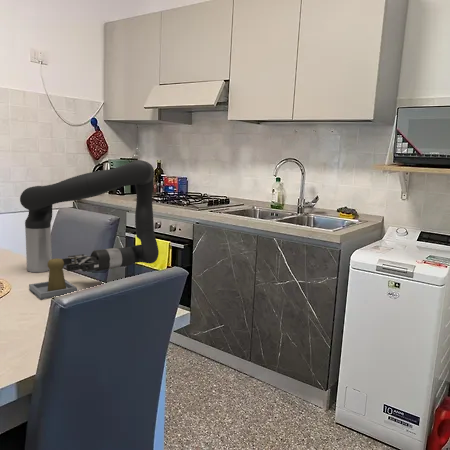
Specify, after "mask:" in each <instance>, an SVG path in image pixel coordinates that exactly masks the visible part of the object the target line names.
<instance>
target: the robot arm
mask: <svg viewBox="0 0 450 450" xmlns="http://www.w3.org/2000/svg"><path fill="white" fill-rule="evenodd" d="M154 181H155V169H154V167H153V165H152V164H151V163H150V162H148V161H145V160H142V159H139V160H134V161H132V162H129V163H126V164H124V165H120V166H118V167H113V168H109V169H102V170H97V171H91V172H86V173H83V174H78V175H75V176H72V177H68V178H66V179H63V180H61V181H59V182H56V183H52V184H46V185H35V186H29V187H27V188H25V189H24V190H23V191H22V192H21V194H20V197H19V202H20V204H21V206H22V207H23V208H25V209H26V210H28V215H27V218H26V219H25V221H24V227H25V228H24V229H25V252H26V254H25V255H26V257H25V258H26V271H27V272H29V273H42V272H43V273H44V272H48V271H50V269H49V268H48V261H49V260H51V259H53V258H52V257H53V256H52V229H51V228H52V225H51V224H52V223H51V222H52V220H53V205H56V204H60V203H65V202H73V201H79V200H85V199H89V198H92V197H93V198H94V197H97V196H101V195H104V194H105V193H108V192H111V191H113V190H115V189H117V188H121V187H127V186H135V193H136V195H135V196H136V202H135V204H136V205H135V213H134V221H135V222H134V223H135V224H134V225H135V236H136V238H137V239H139V240H140V244H136V245H135V244H134V245H132V246H127V247H125V246H124V247H118V248H113V247H112V248H104V249H103V248H102V249H94V250H93V251H92V252H91V253H90V256H89V255H85V254H84V253H81V254H73V255H67V257H66V258H61V259H62V260H63V261H64V266H65V267H66V269H65V271H67V272H73V271H74V272H75V271H82V272H83V273H84V272H90V271H96V272H101V271H106V270H114V269H117V268H121V267H128V266H131V265H133V264H136V263H145V264H155V262H157V261H158V258H159V250H160V249H159V245H158V242H157V239H156V238H157V237H156V236H155V223H154V222H155V221H154V212H153V211H154V209H153V207H154V206H153V191H154V190H153V189H154Z"/></svg>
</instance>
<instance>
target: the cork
mask: <svg viewBox="0 0 450 450" xmlns="http://www.w3.org/2000/svg"><path fill="white" fill-rule="evenodd" d="M62 259H63V258H57V257H55V258H52V259H51V260H49V261H48V268H49V269H50V270H49V272H48V273H49V274H48V281H47V282H48V291H54V290H60V289H66V284H65V280H66V279H65V274H64V266H65V265H64V261H63V260H62ZM48 291H47V292H48Z"/></svg>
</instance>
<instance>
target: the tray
mask: <svg viewBox="0 0 450 450" xmlns="http://www.w3.org/2000/svg"><path fill="white" fill-rule="evenodd" d="M65 284H66V289H60V290H54V291H48V281H43V282H36V283H30V284H28V289H29V291H30V292H31V293H32V294H33V295H35V296H36V297H37V298H38V299H39V300H47V299H48V300H49V299H53V298H52V297H54V296H59V297H61V296H60V295H64V294H67V293H71V292H74V291H77V292H78V287H77V286H76V285H74V284H73V283H71V282H70V281H68V280H66V279H65ZM47 291H48V292H47ZM54 298H55V297H54Z"/></svg>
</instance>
